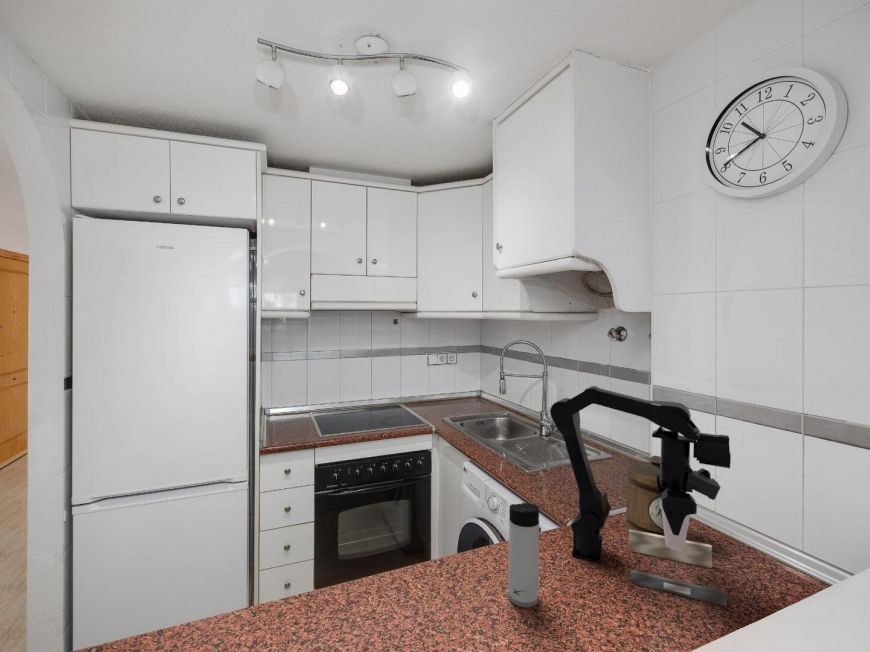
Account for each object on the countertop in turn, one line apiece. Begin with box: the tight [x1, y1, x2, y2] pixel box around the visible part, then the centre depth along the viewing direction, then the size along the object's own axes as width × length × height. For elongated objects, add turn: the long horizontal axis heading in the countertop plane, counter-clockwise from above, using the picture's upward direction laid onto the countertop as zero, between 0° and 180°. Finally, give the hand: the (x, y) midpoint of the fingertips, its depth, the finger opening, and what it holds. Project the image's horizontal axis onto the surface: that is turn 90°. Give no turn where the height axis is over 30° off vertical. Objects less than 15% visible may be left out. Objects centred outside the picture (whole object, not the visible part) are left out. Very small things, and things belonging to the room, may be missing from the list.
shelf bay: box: [628, 529, 728, 607], centre depth 95 cm, size 18×16×5 cm
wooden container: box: [625, 455, 688, 541], centre depth 113 cm, size 15×15×22 cm
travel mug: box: [507, 502, 540, 608], centre depth 86 cm, size 6×7×20 cm
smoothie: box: [660, 501, 692, 551], centre depth 93 cm, size 6×6×14 cm
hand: (673, 526), depth 93 cm, fingers closed on smoothie, 8 cm apart
